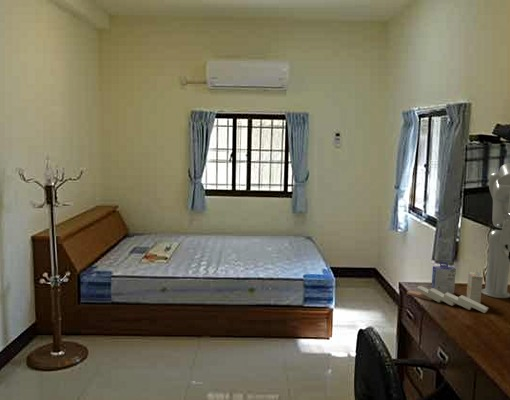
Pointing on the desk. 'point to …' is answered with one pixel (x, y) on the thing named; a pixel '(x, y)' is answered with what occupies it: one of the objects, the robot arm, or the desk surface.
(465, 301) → the domino
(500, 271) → the robot arm
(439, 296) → the domino
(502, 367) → the desk surface
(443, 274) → the ink cartridge box
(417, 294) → the domino
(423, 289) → the domino
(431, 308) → the desk surface
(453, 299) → the domino
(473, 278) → the supplement box
